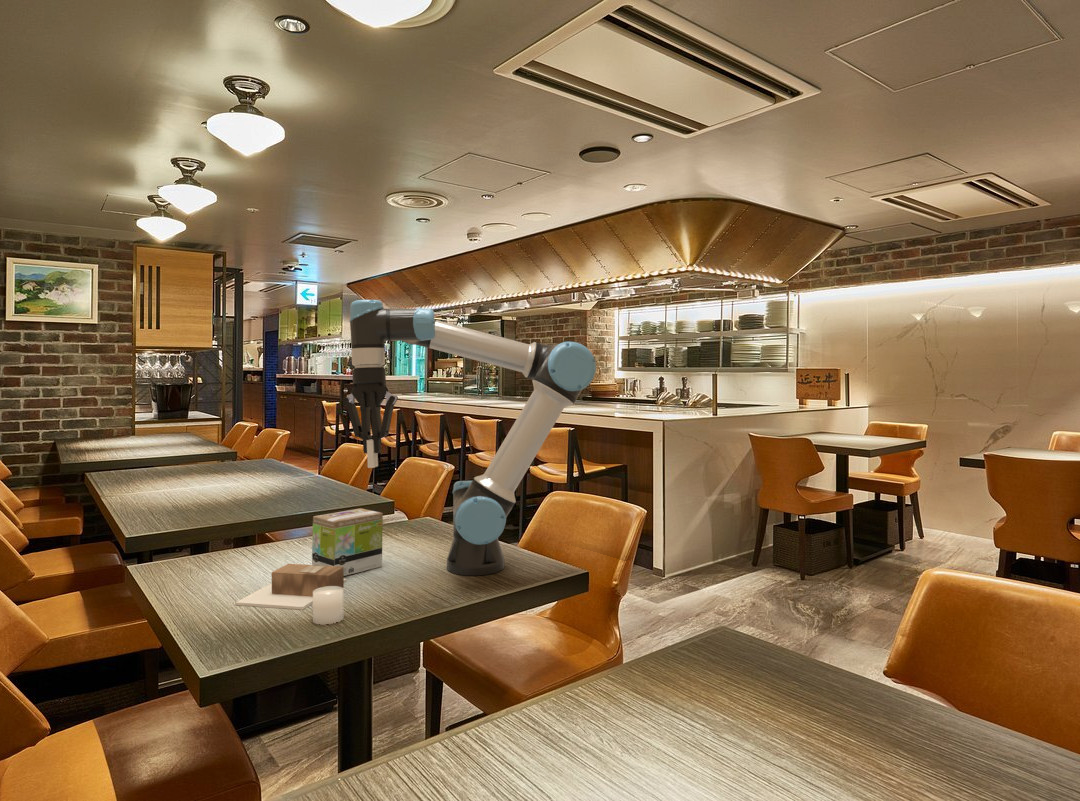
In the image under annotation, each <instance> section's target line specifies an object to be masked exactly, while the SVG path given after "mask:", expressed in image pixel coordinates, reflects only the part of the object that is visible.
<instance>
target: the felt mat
mask: <svg viewBox="0 0 1080 801" xmlns="http://www.w3.org/2000/svg"><path fill="white" fill-rule="evenodd" d="M346 582H347V578H344V583H346ZM235 605H236V606H243V607H244V606H245V607H255V608H256V607H257V608H259V607H260V608H271V609H287V610H301V611H304V610H305V609H306V608H308V607H310V606H311V605H313V597H310V596H295V595H279V594H272V582H271V583H269V584H267V585H265V586H264V587H262V588H260V589H258V590H256V591H254V592H252V593H251V594H248V595H247V596H245V597H243V598H241V599H239V600H237V601H236V602H235Z"/></svg>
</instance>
